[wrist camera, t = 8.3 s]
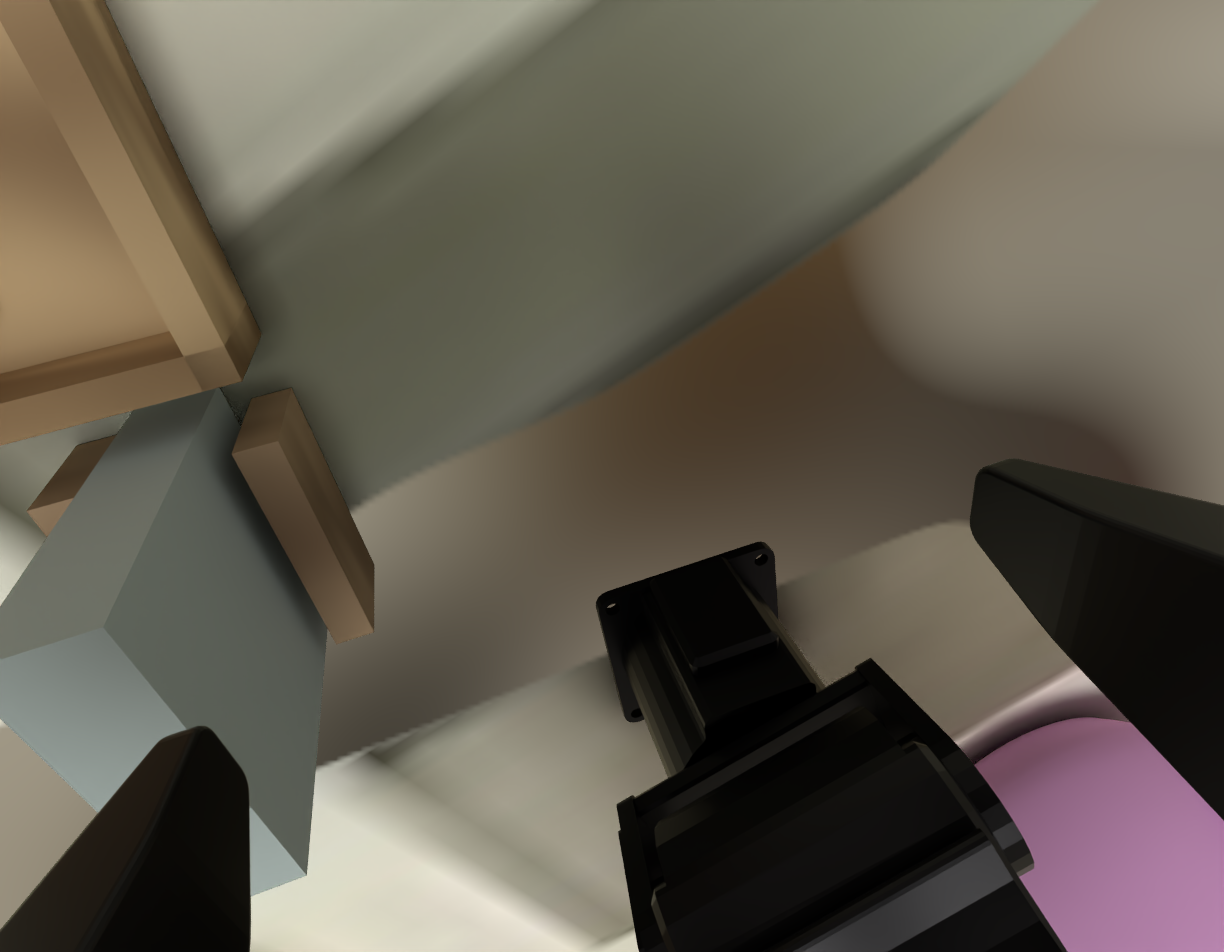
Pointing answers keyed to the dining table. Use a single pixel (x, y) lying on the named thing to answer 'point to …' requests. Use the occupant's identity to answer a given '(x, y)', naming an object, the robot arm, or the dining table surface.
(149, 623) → the grey rectangular slab
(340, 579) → the holder
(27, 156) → the tray
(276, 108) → the dining table surface
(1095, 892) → the teapot
